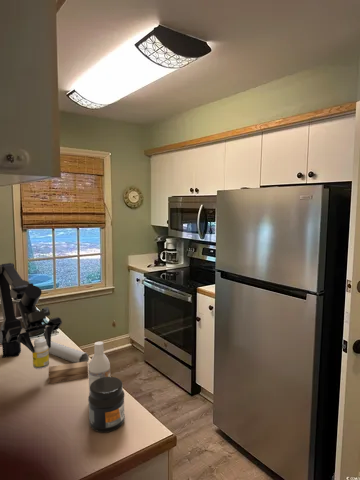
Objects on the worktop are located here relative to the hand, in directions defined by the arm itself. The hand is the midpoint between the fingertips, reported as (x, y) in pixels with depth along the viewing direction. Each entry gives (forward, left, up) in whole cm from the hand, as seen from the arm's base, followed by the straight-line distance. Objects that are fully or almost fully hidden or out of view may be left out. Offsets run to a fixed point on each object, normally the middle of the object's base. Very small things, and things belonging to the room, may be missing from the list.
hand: (42, 349), depth 119 cm
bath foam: (+19, -16, -13) cm, 28 cm away
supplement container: (+20, -28, -14) cm, 37 cm away
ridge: (+9, +4, -13) cm, 16 cm away
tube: (+7, +21, -14) cm, 26 cm away
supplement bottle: (-1, +1, -7) cm, 7 cm away
